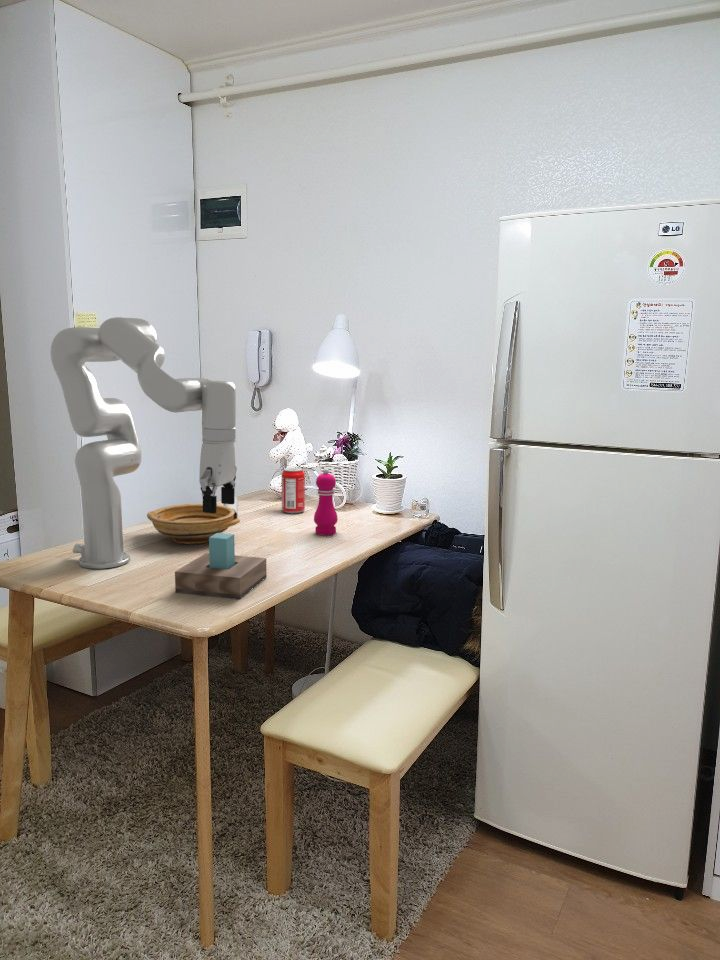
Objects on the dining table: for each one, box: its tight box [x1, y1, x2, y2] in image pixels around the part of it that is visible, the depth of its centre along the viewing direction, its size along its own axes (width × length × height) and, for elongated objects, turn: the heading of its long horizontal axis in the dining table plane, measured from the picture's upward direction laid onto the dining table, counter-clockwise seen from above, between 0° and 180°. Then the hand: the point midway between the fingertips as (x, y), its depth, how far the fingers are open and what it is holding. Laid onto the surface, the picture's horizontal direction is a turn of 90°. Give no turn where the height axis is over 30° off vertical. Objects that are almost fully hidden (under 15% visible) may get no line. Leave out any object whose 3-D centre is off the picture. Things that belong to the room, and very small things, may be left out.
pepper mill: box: [313, 467, 338, 536], centre depth 220 cm, size 7×7×20 cm
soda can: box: [281, 467, 306, 515], centre depth 248 cm, size 8×8×15 cm
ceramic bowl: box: [146, 503, 241, 544], centre depth 213 cm, size 30×24×8 cm
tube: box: [222, 495, 239, 520], centre depth 244 cm, size 5×5×25 cm
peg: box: [208, 532, 236, 569], centre depth 172 cm, size 4×4×11 cm
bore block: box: [174, 552, 268, 600], centre depth 172 cm, size 16×16×5 cm
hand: (219, 508), depth 170 cm, fingers open, 9 cm apart
